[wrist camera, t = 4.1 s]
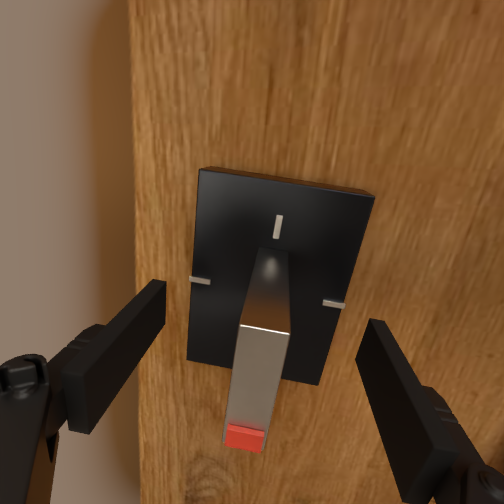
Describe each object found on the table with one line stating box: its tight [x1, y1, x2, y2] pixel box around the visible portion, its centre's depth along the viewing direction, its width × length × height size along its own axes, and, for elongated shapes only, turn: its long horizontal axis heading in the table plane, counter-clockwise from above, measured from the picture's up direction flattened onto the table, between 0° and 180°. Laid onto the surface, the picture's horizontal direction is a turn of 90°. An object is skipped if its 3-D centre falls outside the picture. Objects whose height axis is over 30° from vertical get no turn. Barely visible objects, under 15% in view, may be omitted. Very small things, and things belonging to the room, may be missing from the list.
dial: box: [222, 247, 291, 453], centre depth 14 cm, size 6×2×8 cm, turn 172°
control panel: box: [186, 166, 375, 386], centre depth 19 cm, size 14×10×3 cm
